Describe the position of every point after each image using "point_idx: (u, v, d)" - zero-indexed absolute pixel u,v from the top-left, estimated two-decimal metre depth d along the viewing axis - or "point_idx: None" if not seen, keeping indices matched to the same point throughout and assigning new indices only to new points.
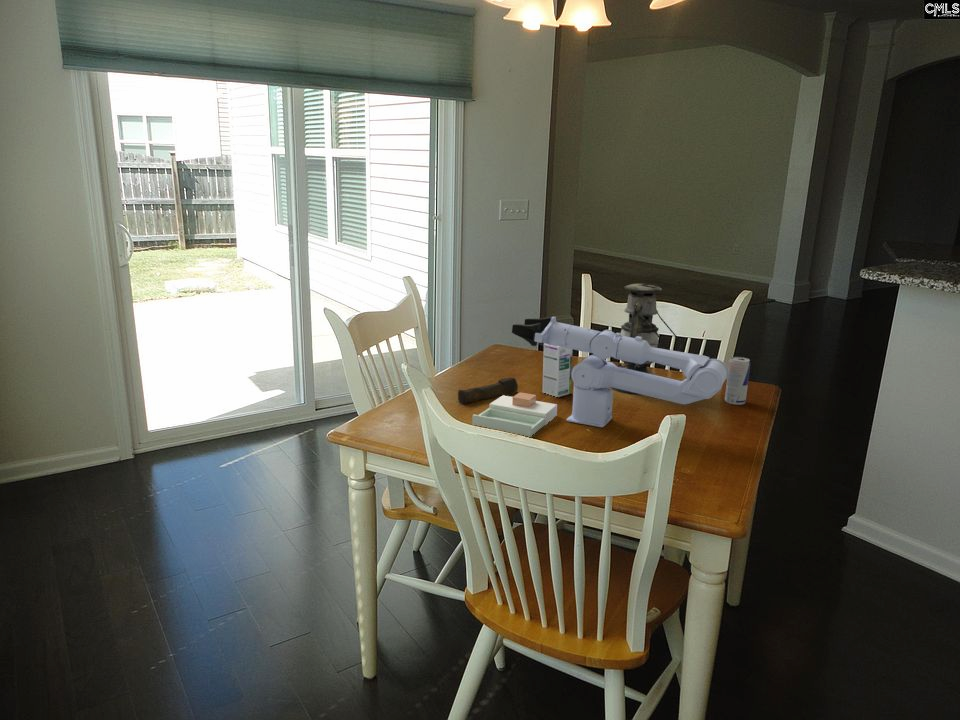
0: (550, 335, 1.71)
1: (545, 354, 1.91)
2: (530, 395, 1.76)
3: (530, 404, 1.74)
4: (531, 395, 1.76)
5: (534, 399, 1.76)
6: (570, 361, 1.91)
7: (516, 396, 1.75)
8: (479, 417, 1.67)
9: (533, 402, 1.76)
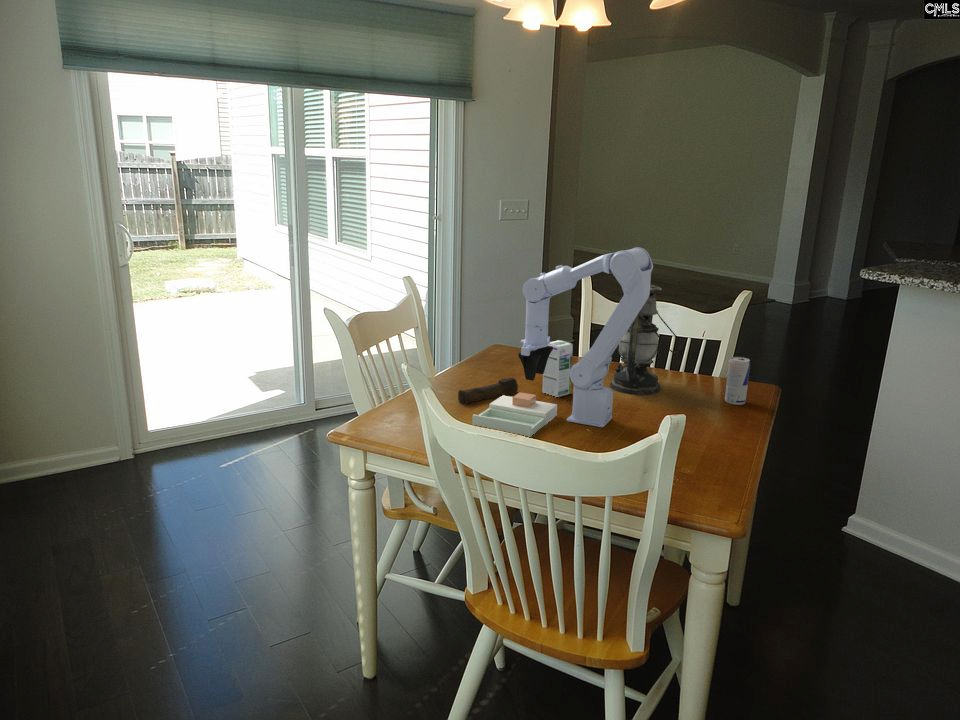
0: (531, 342, 1.75)
1: None
2: (530, 395, 1.76)
3: (530, 404, 1.74)
4: (531, 395, 1.76)
5: (534, 399, 1.76)
6: (570, 361, 1.91)
7: (516, 396, 1.75)
8: (479, 417, 1.67)
9: (533, 402, 1.76)
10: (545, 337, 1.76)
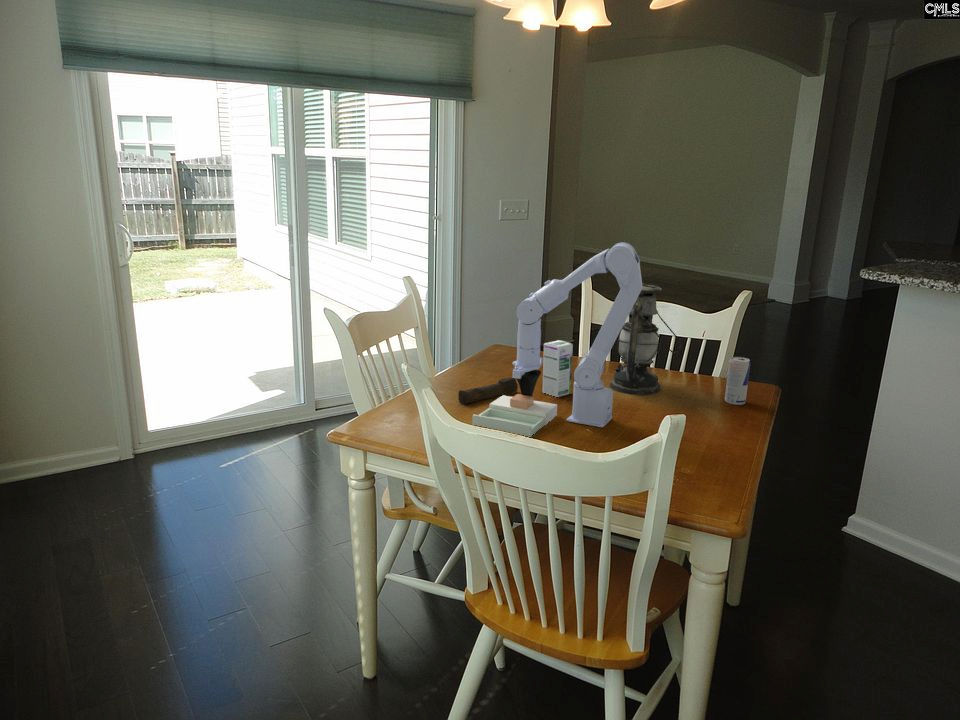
0: (523, 364, 1.72)
1: (545, 354, 1.91)
2: (528, 397, 1.75)
3: (528, 406, 1.73)
4: (529, 397, 1.75)
5: (532, 401, 1.75)
6: (570, 361, 1.91)
7: (514, 398, 1.74)
8: (479, 417, 1.67)
9: (531, 404, 1.74)
10: (537, 359, 1.73)
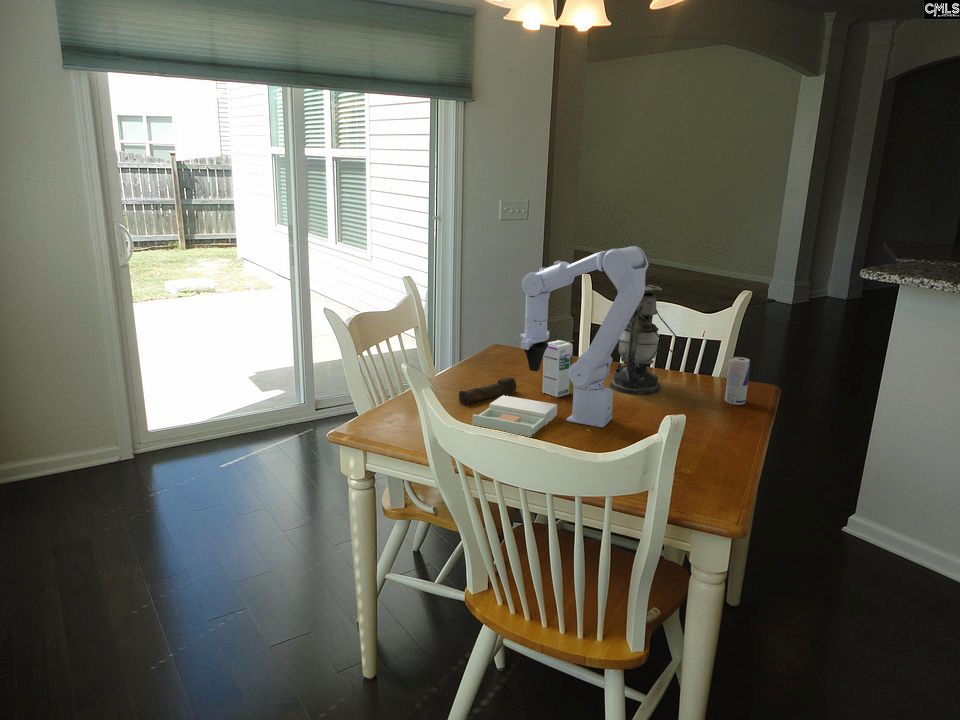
0: (531, 336, 1.77)
1: (545, 354, 1.91)
2: None
3: (519, 420, 1.68)
4: None
5: None
6: (570, 361, 1.91)
7: None
8: (479, 417, 1.67)
9: None
10: (544, 331, 1.78)
